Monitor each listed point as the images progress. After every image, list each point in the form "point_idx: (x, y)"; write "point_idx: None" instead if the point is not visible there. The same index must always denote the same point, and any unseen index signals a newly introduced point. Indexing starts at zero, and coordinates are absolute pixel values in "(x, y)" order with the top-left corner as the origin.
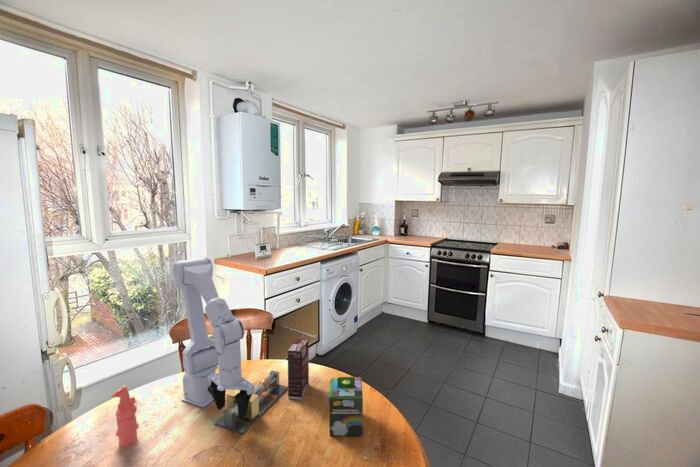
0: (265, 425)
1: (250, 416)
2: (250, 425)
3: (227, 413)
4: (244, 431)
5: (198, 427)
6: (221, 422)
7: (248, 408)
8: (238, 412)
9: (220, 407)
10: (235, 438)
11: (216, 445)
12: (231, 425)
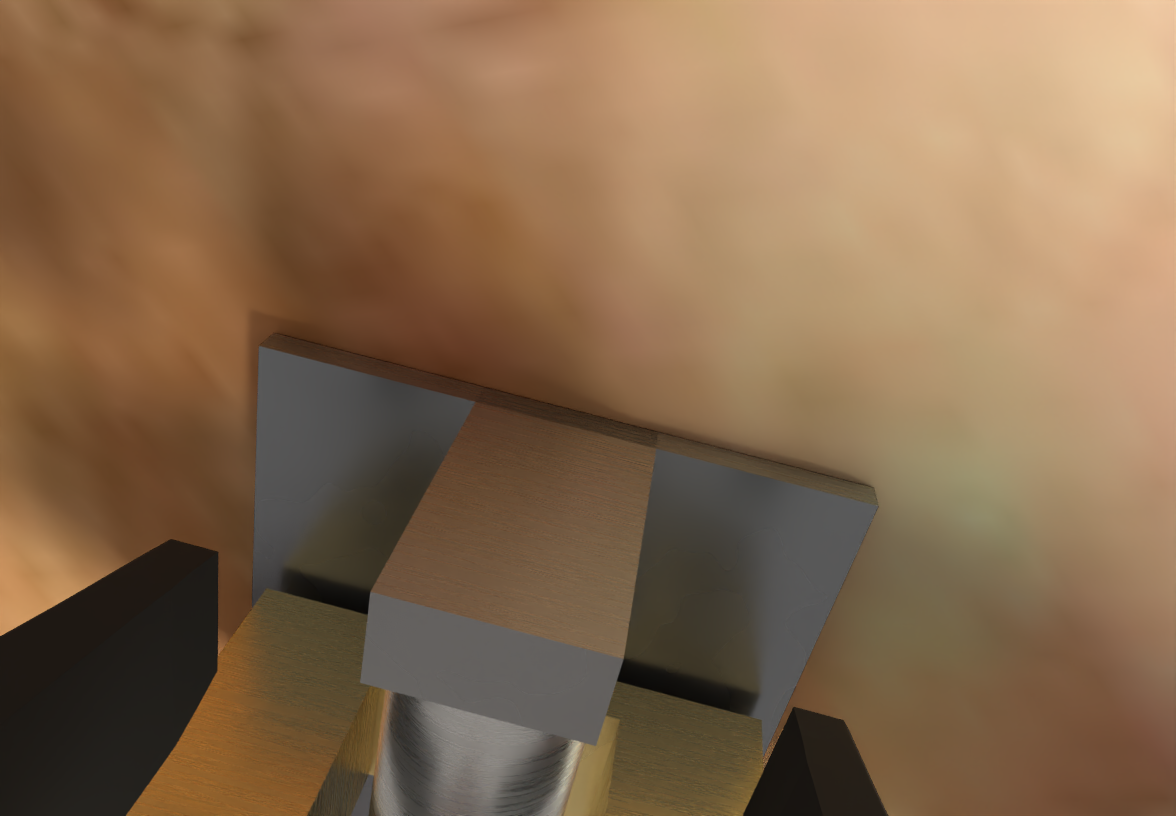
0: (80, 530)
1: (268, 637)
2: (259, 508)
3: (495, 614)
4: (265, 388)
5: (1171, 407)
6: (755, 527)
7: (232, 758)
8: (132, 619)
9: (783, 770)
10: (327, 240)
11: (560, 21)
12: (463, 439)
